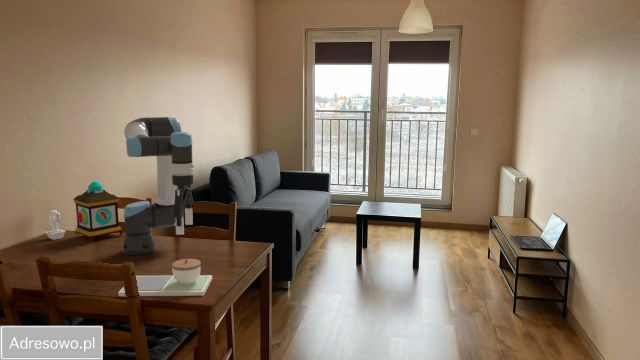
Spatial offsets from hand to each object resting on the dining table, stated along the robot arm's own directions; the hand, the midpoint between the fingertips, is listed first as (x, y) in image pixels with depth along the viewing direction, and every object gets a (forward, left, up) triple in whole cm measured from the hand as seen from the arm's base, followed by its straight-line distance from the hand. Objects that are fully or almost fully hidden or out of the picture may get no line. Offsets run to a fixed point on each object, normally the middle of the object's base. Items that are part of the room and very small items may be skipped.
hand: (184, 229), depth 178 cm
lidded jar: (0, 0, -21) cm, 21 cm away
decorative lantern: (-64, +72, -23) cm, 99 cm away
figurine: (-85, +69, -23) cm, 112 cm away
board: (-7, 0, -23) cm, 24 cm away
